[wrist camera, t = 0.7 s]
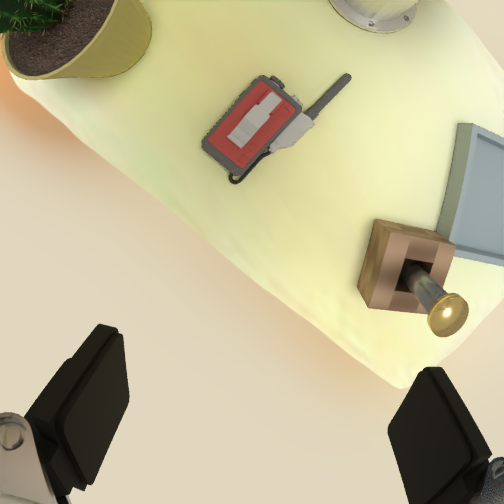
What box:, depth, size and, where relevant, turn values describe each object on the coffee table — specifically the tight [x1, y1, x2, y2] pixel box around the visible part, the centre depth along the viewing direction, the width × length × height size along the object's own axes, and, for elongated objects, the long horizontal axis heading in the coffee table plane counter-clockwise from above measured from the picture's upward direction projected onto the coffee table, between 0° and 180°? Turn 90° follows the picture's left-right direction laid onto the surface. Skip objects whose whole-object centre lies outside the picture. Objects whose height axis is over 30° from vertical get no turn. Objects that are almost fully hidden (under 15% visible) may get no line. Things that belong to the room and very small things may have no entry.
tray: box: [436, 123, 504, 267], centre depth 36 cm, size 18×18×4 cm
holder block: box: [357, 219, 456, 314], centre depth 39 cm, size 10×10×6 cm
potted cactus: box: [0, 0, 152, 80], centre depth 19 cm, size 15×15×30 cm
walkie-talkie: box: [202, 73, 351, 184], centre depth 35 cm, size 9×4×20 cm
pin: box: [399, 258, 469, 337], centre depth 34 cm, size 5×5×15 cm
